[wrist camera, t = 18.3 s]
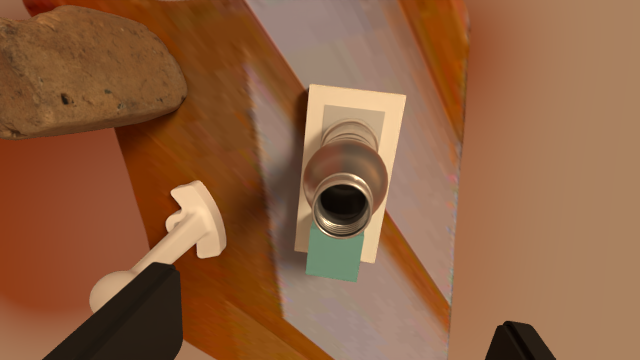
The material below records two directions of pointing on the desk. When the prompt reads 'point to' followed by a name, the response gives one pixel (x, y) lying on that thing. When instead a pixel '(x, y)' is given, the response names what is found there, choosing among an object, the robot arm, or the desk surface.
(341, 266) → the cube
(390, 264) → the desk surface
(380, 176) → the plastic bottle
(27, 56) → the block
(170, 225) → the joystick
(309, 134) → the board
